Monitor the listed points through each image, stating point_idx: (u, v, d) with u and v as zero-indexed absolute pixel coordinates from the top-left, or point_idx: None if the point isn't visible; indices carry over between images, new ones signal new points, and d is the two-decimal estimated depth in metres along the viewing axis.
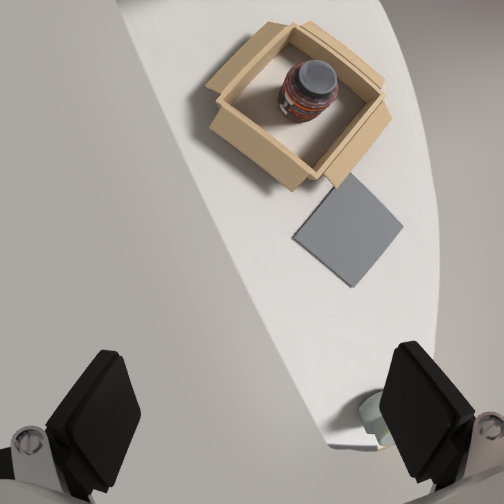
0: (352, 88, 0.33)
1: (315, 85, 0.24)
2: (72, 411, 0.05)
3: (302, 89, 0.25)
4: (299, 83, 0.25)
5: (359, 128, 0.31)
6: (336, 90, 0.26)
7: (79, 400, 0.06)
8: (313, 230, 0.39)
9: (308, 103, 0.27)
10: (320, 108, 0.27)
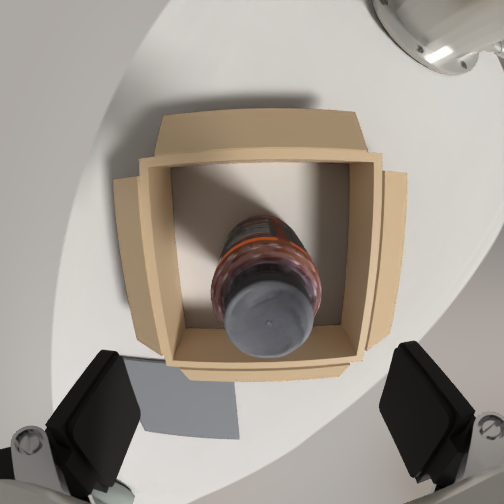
0: (345, 298, 0.23)
1: (245, 332, 0.12)
2: (72, 411, 0.05)
3: (225, 307, 0.13)
4: (228, 298, 0.13)
5: (278, 368, 0.20)
6: None
7: (79, 400, 0.06)
8: (141, 372, 0.26)
9: (221, 319, 0.15)
10: None
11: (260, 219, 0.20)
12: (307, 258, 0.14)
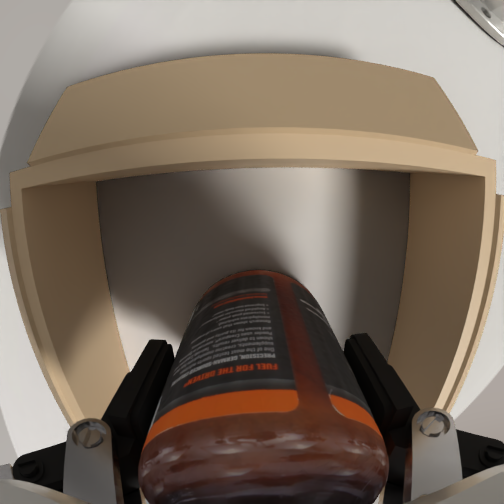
0: None
1: None
2: (134, 399, 0.06)
3: None
4: None
5: None
6: None
7: (139, 388, 0.07)
8: None
9: None
10: None
11: (252, 285, 0.10)
12: (373, 443, 0.04)
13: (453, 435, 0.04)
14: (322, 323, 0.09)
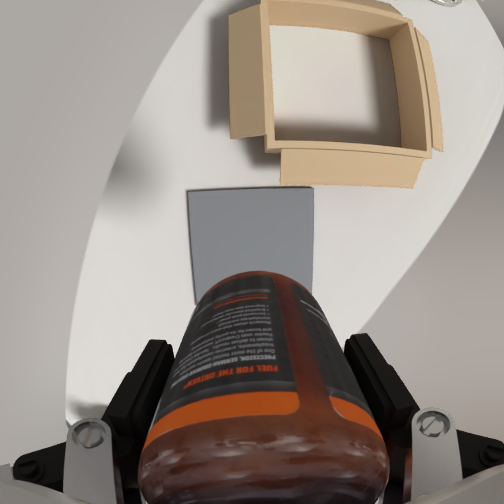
0: (402, 127, 0.25)
1: None
2: (134, 399, 0.06)
3: None
4: None
5: (370, 151, 0.21)
6: None
7: (139, 388, 0.07)
8: (214, 205, 0.27)
9: None
10: None
11: (252, 286, 0.10)
12: (374, 445, 0.04)
13: (453, 435, 0.04)
14: (322, 324, 0.09)
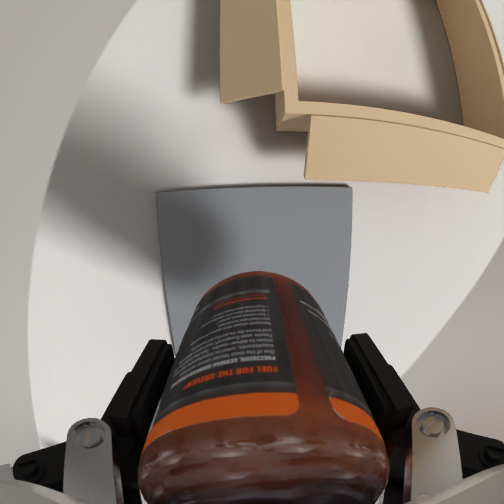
0: (465, 106, 0.15)
1: None
2: (134, 399, 0.06)
3: None
4: None
5: (446, 132, 0.11)
6: None
7: (139, 388, 0.07)
8: (196, 213, 0.17)
9: None
10: None
11: (252, 286, 0.10)
12: (374, 446, 0.04)
13: (453, 435, 0.04)
14: (322, 325, 0.09)
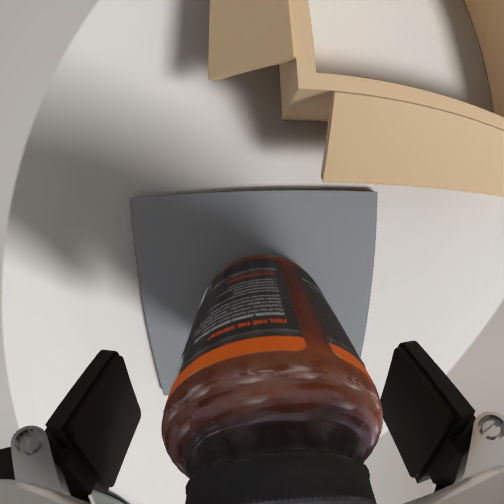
0: (497, 100, 0.11)
1: None
2: (71, 411, 0.05)
3: (187, 493, 0.04)
4: (190, 494, 0.04)
5: (495, 126, 0.07)
6: None
7: (79, 400, 0.06)
8: (179, 225, 0.13)
9: (187, 475, 0.06)
10: None
11: (261, 265, 0.11)
12: (368, 385, 0.06)
13: None
14: (321, 298, 0.10)
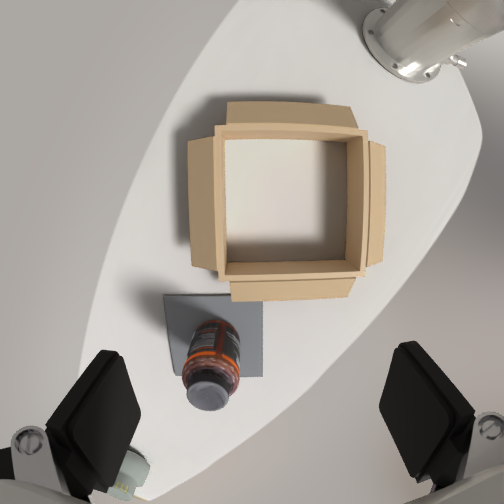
0: (347, 236, 0.32)
1: (196, 400, 0.24)
2: (72, 411, 0.05)
3: (187, 387, 0.25)
4: (188, 384, 0.24)
5: (304, 279, 0.29)
6: None
7: (79, 400, 0.06)
8: (183, 307, 0.34)
9: (187, 389, 0.26)
10: None
11: (212, 326, 0.32)
12: (229, 364, 0.26)
13: None
14: (231, 339, 0.31)
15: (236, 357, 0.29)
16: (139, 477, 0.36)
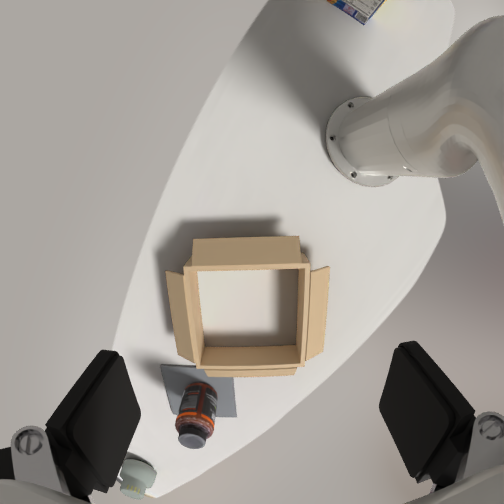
0: (297, 330, 0.41)
1: (185, 443, 0.34)
2: (72, 411, 0.05)
3: (179, 434, 0.35)
4: (179, 433, 0.34)
5: (257, 369, 0.38)
6: None
7: (79, 400, 0.06)
8: (175, 373, 0.44)
9: (179, 433, 0.36)
10: None
11: (196, 389, 0.42)
12: (206, 421, 0.36)
13: None
14: (209, 399, 0.40)
15: (212, 413, 0.38)
16: (148, 482, 0.47)
